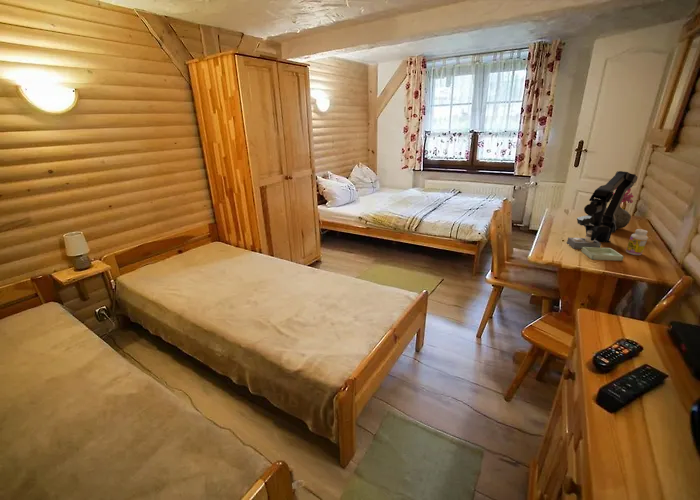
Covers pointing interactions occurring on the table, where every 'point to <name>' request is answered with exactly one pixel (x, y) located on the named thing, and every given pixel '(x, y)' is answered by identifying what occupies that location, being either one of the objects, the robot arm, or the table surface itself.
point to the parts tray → (602, 253)
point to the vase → (623, 212)
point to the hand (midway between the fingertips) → (589, 239)
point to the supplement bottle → (637, 242)
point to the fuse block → (582, 243)
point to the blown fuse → (588, 236)
